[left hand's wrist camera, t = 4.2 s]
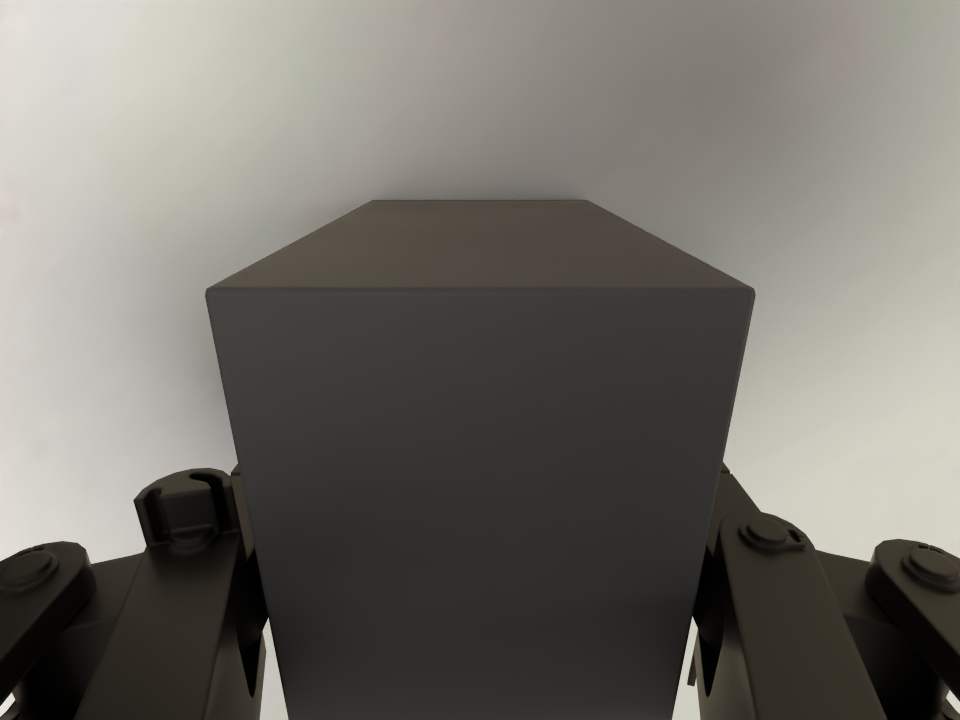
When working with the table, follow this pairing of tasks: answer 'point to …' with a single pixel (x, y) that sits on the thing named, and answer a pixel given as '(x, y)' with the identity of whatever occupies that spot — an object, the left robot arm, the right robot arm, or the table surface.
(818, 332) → the table surface
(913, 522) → the table surface
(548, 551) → the post
